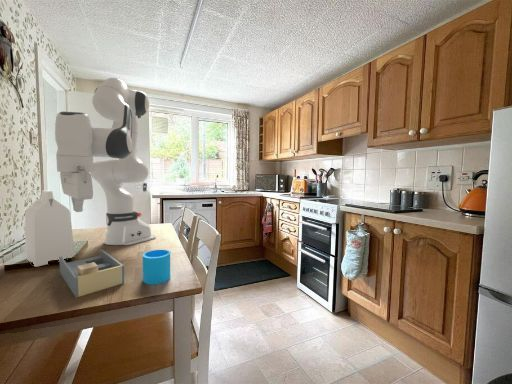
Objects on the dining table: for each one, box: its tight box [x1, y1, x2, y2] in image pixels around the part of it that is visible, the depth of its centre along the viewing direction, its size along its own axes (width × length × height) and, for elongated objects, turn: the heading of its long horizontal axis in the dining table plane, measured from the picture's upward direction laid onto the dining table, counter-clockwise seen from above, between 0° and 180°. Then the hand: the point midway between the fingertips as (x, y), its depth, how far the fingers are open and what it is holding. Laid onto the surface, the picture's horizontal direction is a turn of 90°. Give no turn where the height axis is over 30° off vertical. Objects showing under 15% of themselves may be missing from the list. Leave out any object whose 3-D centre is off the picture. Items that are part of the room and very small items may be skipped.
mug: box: [142, 249, 171, 285], centre depth 77 cm, size 12×8×8 cm
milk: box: [24, 189, 75, 268], centre depth 90 cm, size 12×12×26 cm
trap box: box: [58, 248, 125, 298], centre depth 75 cm, size 12×22×6 cm, turn 48°
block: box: [77, 262, 98, 276], centre depth 67 cm, size 4×4×4 cm
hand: (78, 211), depth 73 cm, fingers closed
